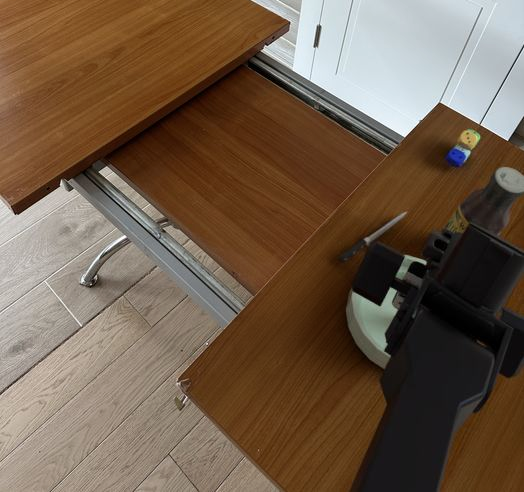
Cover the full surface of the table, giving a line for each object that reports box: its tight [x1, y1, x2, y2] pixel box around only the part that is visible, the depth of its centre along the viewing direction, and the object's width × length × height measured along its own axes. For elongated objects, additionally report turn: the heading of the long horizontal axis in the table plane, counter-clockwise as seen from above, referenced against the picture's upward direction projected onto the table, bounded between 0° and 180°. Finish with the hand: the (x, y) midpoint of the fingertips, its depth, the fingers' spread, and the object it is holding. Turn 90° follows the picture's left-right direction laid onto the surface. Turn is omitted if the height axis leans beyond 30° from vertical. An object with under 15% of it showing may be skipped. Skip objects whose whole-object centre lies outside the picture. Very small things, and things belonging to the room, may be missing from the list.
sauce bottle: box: [439, 166, 524, 236], centre depth 71 cm, size 7×6×20 cm
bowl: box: [345, 254, 427, 370], centre depth 69 cm, size 15×15×4 cm
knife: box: [338, 210, 409, 264], centre depth 78 cm, size 15×1×2 cm, turn 128°
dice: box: [445, 128, 481, 168], centre depth 89 cm, size 8×3×6 cm, turn 140°
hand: (438, 288), depth 64 cm, fingers closed
